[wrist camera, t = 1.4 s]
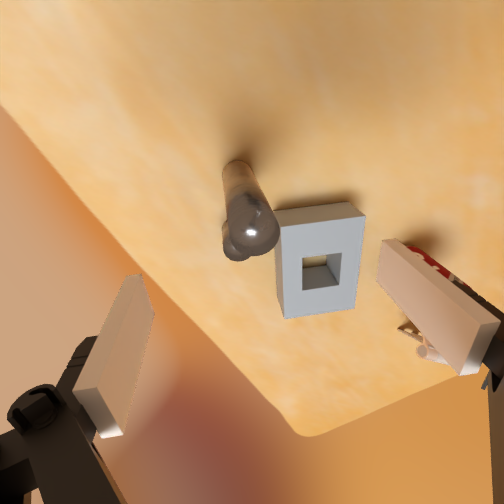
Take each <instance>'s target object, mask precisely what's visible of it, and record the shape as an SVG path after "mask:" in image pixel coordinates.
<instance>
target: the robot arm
mask: <svg viewBox="0 0 504 504" xmlns="http://www.w3.org/2000/svg"><path fill="white" fill-rule="evenodd" d="M376 282H377V283H378V284H379V285H380V286H381V287H382V289H383V290H384V291H385V292H386V293H387V294H388V295H389V297H390V298H391V299H392V300H393V301H394V302H395V303H396V305H397V306H398V307H399V308H400V309H401V310H402V311H403V312H404V314H405V315H406V316H407V317H408V318H409V319H410V320H411V322H412V323H413V324H414V325H415V326H416V327H417V328H418V330H419V331H420V332H421V333H422V334H423V335H424V336H425V337H426V339H427V340H428V341H429V342H430V343H431V344H432V345H433V347H434V348H435V349H436V350H437V351H438V352H439V353H440V355H441V356H442V357H443V358H444V359H445V360H446V361H447V362H448V364H449V365H450V366H451V367H452V368H453V369H454V370H455V372H456V373H457V374H458V375H459V376H461V375H468V374H473V373H478V370H479V368H480V366H481V364H482V362H483V363H484V364H485V365H486V366H487V367H488V368H489V369H490V370H489V372H488V374H487V376H486V378H485V380H484V382H483V385H482V387H481V389H484V390H485V388H486V386H487V385H488V402H489V421H490V422H489V423H490V443H491V464H492V485H493V504H504V313H503V312H501V311H500V310H499V309H497V308H496V307H495V306H493V305H492V304H491V303H489V302H486V300H485V299H484V298H483V297H481V296H480V295H479V296H478V294H477V293H476V292H475V291H473V290H472V289H471V288H469V287H468V286H466V285H463V284H461V283H459V282H457V281H449V280H448V279H447V278H445V277H444V276H443V275H441V274H440V273H439V272H438V271H436V270H435V269H434V268H433V267H431V266H430V265H429V264H427V263H426V262H425V261H424V260H422V259H421V258H420V257H418V256H417V255H416V254H415V253H413V252H412V251H411V250H410V249H408V248H407V247H406V246H404V245H403V244H402V243H401V242H399V241H398V240H397V239H396V238H395V239H387V240H382V244H381V251H380V257H379V264H378V270H377V277H376ZM153 318H154V311H153V308H152V305H151V302H150V299H149V296H148V293H147V290H146V287H145V284H144V281H143V278H142V275H141V274H136V275H129V276H126V277H125V280H124V282H123V284H122V286H121V288H120V290H119V292H118V295H117V297H116V299H115V301H114V303H113V305H112V307H111V309H110V312H109V314H108V316H107V318H106V320H105V322H104V324H103V327H102V329H101V331H100V333H99V335H98V336H92V337H86V338H85V339H84V341H83V342H82V343H81V344H80V345H79V346H78V347H77V348H76V350H75V352H74V353H73V356H72V357H71V360H70V361H69V363H68V365H67V368H66V369H65V370H64V372H63V374H62V376H61V378H60V380H59V382H58V384H57V385H56V387H54V386H53V385H51V384H43V385H39V386H36V387H34V388H32V389H30V390H28V391H26V392H25V393H24V394H22V395H21V396H20V397H19V398H18V399H17V400H16V401H15V402H14V403H13V404H12V405H11V407H10V409H9V411H8V413H7V420H8V421H9V422H10V423H11V425H12V426H13V427H14V428H15V429H13V430H11V431H8V432H7V433H4V434H2V435H0V504H31V491H32V490H34V489H36V488H39V490H40V493H41V496H42V499H43V502H44V504H127V502H126V500H125V498H124V497H123V495H122V493H121V491H120V489H119V488H118V486H117V484H116V482H115V480H114V479H113V477H112V475H111V473H110V471H109V470H108V468H107V466H106V464H105V463H104V461H103V459H102V457H101V455H100V454H99V452H98V450H97V448H96V447H95V445H94V443H93V442H92V441H93V439H94V436H95V433H96V430H97V431H98V433H99V434H100V436H101V437H102V438H107V437H113V436H118V435H123V434H124V430H125V426H126V422H127V418H128V415H129V410H130V407H131V403H132V399H133V395H134V392H135V388H136V383H137V380H138V376H139V372H140V368H141V364H142V360H143V357H144V353H145V349H146V345H147V341H148V338H149V334H150V330H151V326H152V322H153Z"/></svg>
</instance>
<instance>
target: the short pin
mask: <svg viewBox="0 0 504 504" xmlns="http://www.w3.org/2000/svg"><path fill="white" fill-rule="evenodd" d="M222 237H223V250H224V253H225V255H226V256H227V257H228V258H229V259H230V260H233V261H244V260H246V259H248V258H249V257H250V256H247V255H244V254H242V253H240V252H238V251H237V250H236V249H235V248H234V247H233V245H232V243H231V241H230V236H229V228H228V220H227V221H226V222H225V223H224V224H223V227H222Z"/></svg>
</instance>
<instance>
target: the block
mask: <svg viewBox="0 0 504 504" xmlns="http://www.w3.org/2000/svg"><path fill="white" fill-rule="evenodd" d="M273 213H274V215H275V217H276V219H277V221H278V223H279V226H280V237H279V240H278V242H277V244H276V245H275V265H276V284H277V298H278V301H279V304H280V307H281V310H282V313H283V317H284V319H289V318H296V317H302V316H309V315H315V314H322V313H329V312H335V311H342V310H348V309H354V308H355V300H356V292H357V284H358V276H359V268H360V259H361V251H362V243H363V235H364V227H365V218H366V216H365V215H364V214H363V213H362V212H360V211H359V210H358V209H357V208H355V207H354V206H353V205H352V204H350V203H349V202H340V203H332V204H325V205H317V206H309V207H301V208H293V209H285V210H277V211H273ZM320 255H327V259H326V265H324V266H317V267H310V268H303V269H302V258H305V257H313V256H320Z"/></svg>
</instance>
